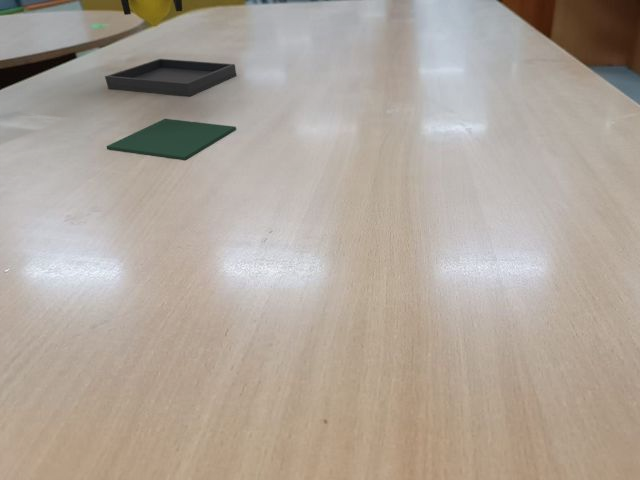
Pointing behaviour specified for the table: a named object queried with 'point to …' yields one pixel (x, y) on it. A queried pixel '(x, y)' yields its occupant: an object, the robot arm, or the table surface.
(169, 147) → the mat
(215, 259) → the table surface
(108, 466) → the table surface
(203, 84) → the tray
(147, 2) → the lemon
